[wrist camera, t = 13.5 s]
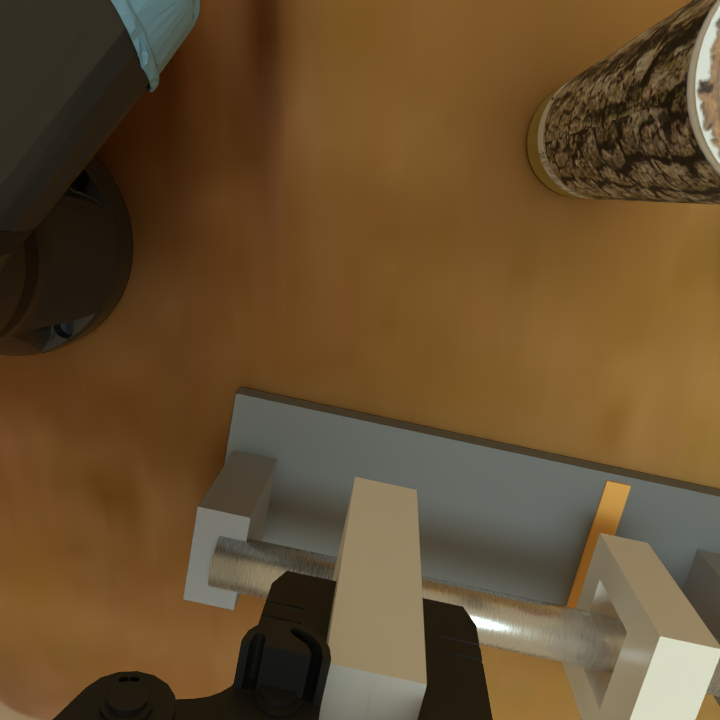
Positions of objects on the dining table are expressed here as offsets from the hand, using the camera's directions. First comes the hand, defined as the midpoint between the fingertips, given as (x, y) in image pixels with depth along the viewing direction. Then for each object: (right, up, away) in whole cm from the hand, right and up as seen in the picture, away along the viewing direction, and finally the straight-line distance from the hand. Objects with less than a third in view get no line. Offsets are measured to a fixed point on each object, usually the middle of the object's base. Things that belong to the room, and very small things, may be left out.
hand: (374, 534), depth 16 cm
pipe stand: (+8, -8, +32) cm, 34 cm away
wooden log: (+13, +18, +25) cm, 34 cm away
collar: (+15, -11, +26) cm, 32 cm away
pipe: (+7, -10, +24) cm, 27 cm away
